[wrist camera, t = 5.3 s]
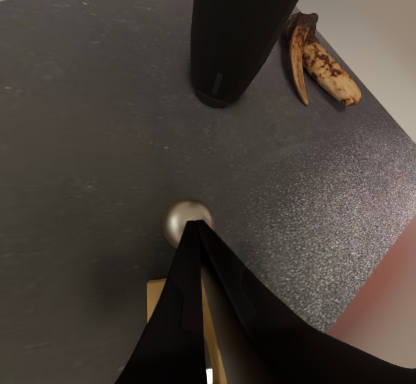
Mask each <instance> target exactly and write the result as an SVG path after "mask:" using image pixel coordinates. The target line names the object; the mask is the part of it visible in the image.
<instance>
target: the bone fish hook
mask: <svg viewBox="0 0 416 384" xmlns="http://www.w3.org/2000/svg"><path fill="white" fill-rule="evenodd" d="M317 21H318V15H317V14H316V13H312V14H303V13H301V12H299V13H297V14H294V15H291V19H289V20H287V22H286V24H285V26H284V28H283V30H282V32H281V35H282V40H283V45H285V46H286V47H287V48H288V49H289V61H290V69H291V74H292V79H293V82H294V86H295V89H296V92H297V94H298V96H299V98H300V99H301V101H302V102H303V103H304V104H305V105H306V106H308V100H307V95H306V90H305V84H304V77H303V68H302V66H303V67H304V68H306V70H307V71H308V73H309V74H310V75H311V77H312V78H313V79H314V80H315V81H316V82H317V83H318V84H319V85H320V86H321V87H322V88H324V89H325V90H326V91H327V92H328V93H329V94H331V95H332V96H333V97H334V98H335V99H336V100H338V101H339V102H341V101H344V102H345V103H344V106H345V107H349V106H352V105H356V104H357V103H358V102H360V101H361V100H362V99H361V93H360V90H359V88H358V87H357V85H356V84H355V82H354V81H353V80H352V78H351V77H350V76H349V75H348V73H347V71H346V70H345V69H343V67H342V66H341V65H340V64H339V63H338V62H336V61H335V60H334V59H333V58H331V57H330V56H329V54H328V52H327V51H326V50H325V49H324V48H323V47H322V46H321V45H320V44H319V40H318V39H317V38H316V37H315V35H314V34H315V30H316V23H317Z"/></svg>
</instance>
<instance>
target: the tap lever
mask: <svg viewBox="0 0 416 384" xmlns="http://www.w3.org/2000/svg"><path fill="white" fill-rule="evenodd" d="M201 219H203V220H204V221H205V222H206V223H207V224H208V225H209V226H210V227H211V228H212V229H213V231H214V230H215V218H214V214H213V212H212V210H211V209H210V207H209V206H208V205H207V204H206V203H205V202H203V201H202V200H200V199H197V198H192V197H185V198H181V199H178V200H176V201H175V202H173V203H172V204H171V205H170V206H169V207H168V208H167V210H166V211H165V213H164V215H163V219H162V230H163V234H164V236H165V238H166V240H167V241H168V242H169V243H170V244H171V245H172V246H173V247H175V248H177V247H178V245H179V242H180V239H181V236H182V233H183V230H184V227H185V225H186V222H187V221H188V220H195V221H196V220H201ZM204 349H205V362H206V371H207V381H208V384H213V372H212V364H211V359H210V355H209V350H208V346H207V341H206V338H204Z"/></svg>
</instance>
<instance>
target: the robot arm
mask: <svg viewBox="0 0 416 384" xmlns="http://www.w3.org/2000/svg"><path fill="white" fill-rule="evenodd" d="M201 278H202V281H201ZM202 282H203V286H204V290H205V294H206V298H207V302H208V306H209V311H210V315H211V319H212V323H213V327H214V331H215V335H216V339H217V343H218V347H219V351H220V355H221V359H222V364H223V368H224V370H225V376H226V380H227V384H416V368H415V369H410V368H403V367H400V366H397V365H393V364H391V363H389V362H386V361H384V360H381V359H379V358H377V357H375V356H373V355H371V354H368V353H366V352H364V351H362V350H360V349H358V348H355V347H353V346H351V345H349V344H347V343H345V342H342V341H340V340H338V339H336V338H333V337H332V336H329V335H327V334H325V333H323V332H321V331H319V330H317V329H315V328H314V327H312V326H311V325H309V324H308V323H306V322H305V321H304V320H302V319H301V318H300V317H299V316H298V315H297V314H296V313H294V312H293V311H292V310H291V309H290V308H289V307H288V306H287V305H286V304H284V303H283V302H282V301H281V300H280V299H279V298H278V297H277V296H275V295H274V294H273V293H272V292H271V291H270V290H269V289H268V288H267V287H266V286H265V285H264V284H263V283H262V282H261V281H260V280H259V279H258V278H257V277H256V276H255V275H254V274H253V273H252V272H251V271H250V270H249V269H248V268H247V267H246V266H245V264H244V263H243V262H242V261H241V260H240V259H239V258H238V257H237V256H236V255H235V254H234V252H233V251H232V250H231V249H230V248H229V247H228V246H227V245H226V244H225V243H224V241H223V240H222V239H221V238H220V237H219V236H218V235H217V234H216V233H215V232H214V231H213V229H212V228H211V227H210V226H209V225H208V224H207V223H206V222H205V221H204V220H203V219H201V220H196V221H195V220H188V221H187V222H186V225H185V227H184V230H183V233H182V236H181V239H180V242H179V245H178V247H177V250H176V253H175V256H174V259H173V262H172V265H171V267H170V270H169V273H168V276H167V279H166V281H165V284H164V287H163V290H162V292H161V295H160V297H159V300H158V302H157V304H156V306H155V309H154V311H153V313H152V315H151V317H150V319H149V321H148V323H147V325H146V327H145V329H144V331H143V333H142V335H141V337H140V339H139V341H138V343H137V345H136V347H135V349H134V351H133V353H132V355H131V357H130V359H129V361H128V363H127V364H126V366H125V368H124V370H123V371H122V373H121V374H120V376H119V378H118V379H117V380H116V382H115V383H114V384H208V381H207V371H206V362H205V349H204V328H203V304H202Z"/></svg>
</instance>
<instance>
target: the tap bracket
mask: <svg viewBox="0 0 416 384" xmlns="http://www.w3.org/2000/svg"><path fill="white" fill-rule="evenodd" d="M166 279H167V278H165V279H158V280H150V281H148V283H147V317H148V321H149V319H150V317H151V315H152V313H153V311H154V309H155V306H156V304H157V302H158V300H159V297H160V295H161V292H162V290H163V287H164V284H165V281H166ZM201 281H202V278H201ZM202 304H203V328H204V338H206V341H207V346H208V350H209V355H210V359H211V364H212V372H213V384H227V380H226V376H225V370H224V368H223V364H222V359H221V355H220V351H219V347H218V343H217V339H216V335H215V331H214V327H213V323H212V319H211V315H210V311H209V306H208V302H207V298H206V294H205V290H204V286H203V282H202Z"/></svg>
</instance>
